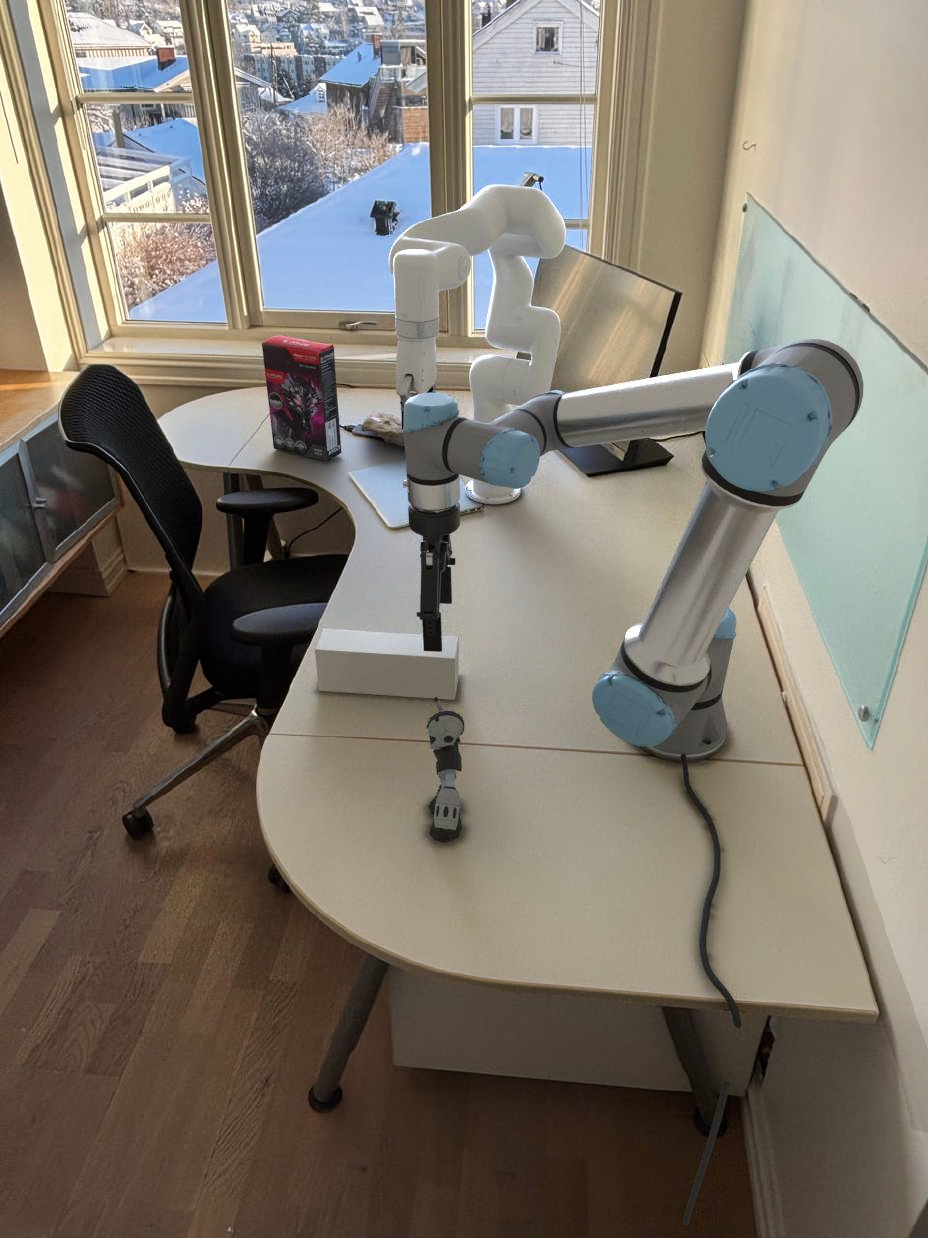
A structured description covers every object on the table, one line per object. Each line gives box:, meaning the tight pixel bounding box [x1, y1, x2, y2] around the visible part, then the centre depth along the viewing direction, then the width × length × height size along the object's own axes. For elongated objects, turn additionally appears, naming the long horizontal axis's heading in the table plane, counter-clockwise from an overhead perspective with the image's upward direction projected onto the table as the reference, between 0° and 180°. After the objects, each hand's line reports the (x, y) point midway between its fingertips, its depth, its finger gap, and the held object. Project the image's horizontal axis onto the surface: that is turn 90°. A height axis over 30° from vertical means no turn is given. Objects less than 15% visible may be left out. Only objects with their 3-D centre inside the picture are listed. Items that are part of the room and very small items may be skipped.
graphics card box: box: [261, 334, 342, 462], centre depth 222 cm, size 17×7×27 cm, turn 62°
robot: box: [425, 697, 465, 842], centre depth 121 cm, size 20×5×20 cm, turn 3°
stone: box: [360, 412, 405, 448], centre depth 233 cm, size 21×15×6 cm
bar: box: [314, 628, 460, 701], centre depth 150 cm, size 22×6×8 cm, turn 84°
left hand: (419, 421), depth 168 cm, fingers open, 9 cm apart
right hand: (438, 625), depth 144 cm, fingers open, 13 cm apart
